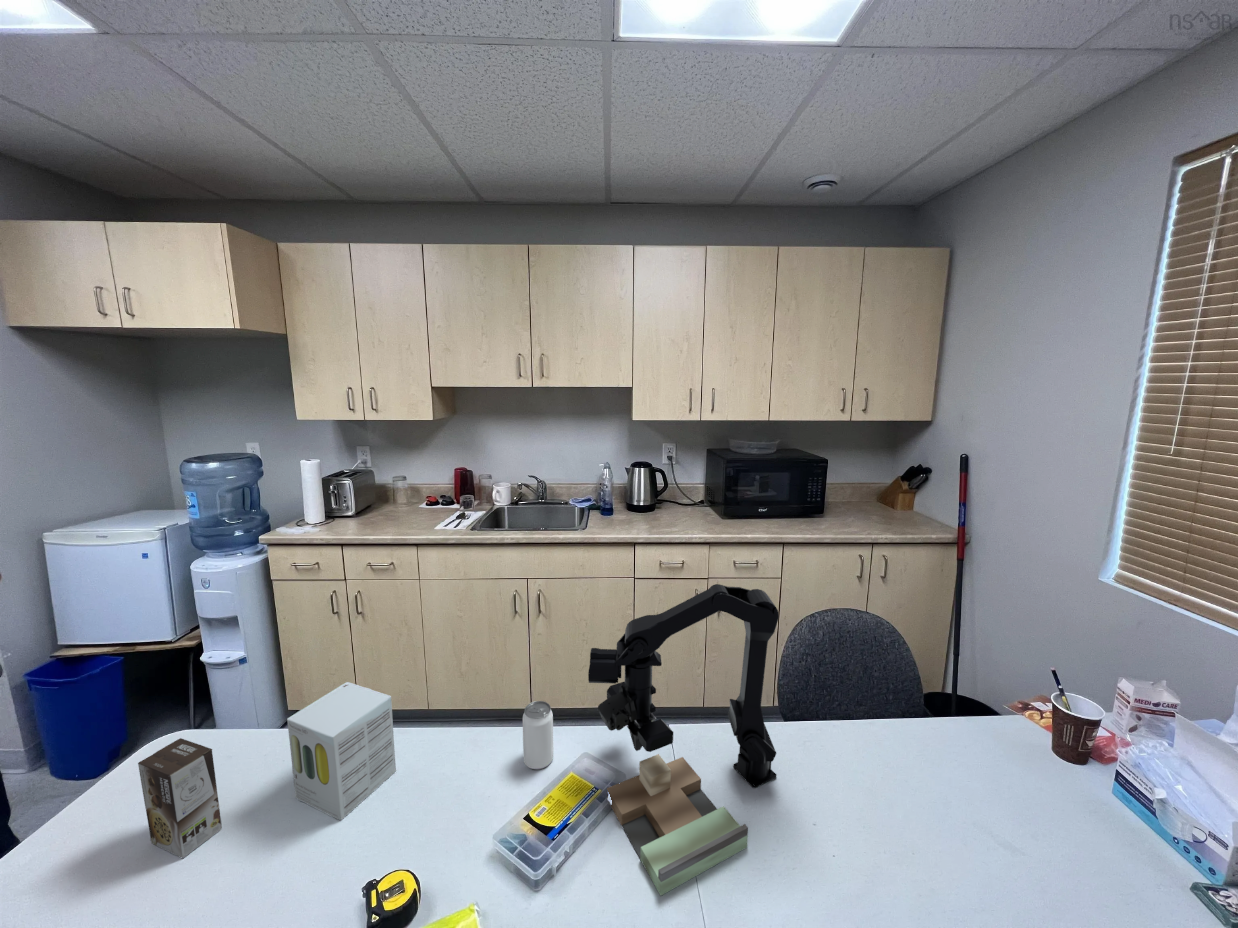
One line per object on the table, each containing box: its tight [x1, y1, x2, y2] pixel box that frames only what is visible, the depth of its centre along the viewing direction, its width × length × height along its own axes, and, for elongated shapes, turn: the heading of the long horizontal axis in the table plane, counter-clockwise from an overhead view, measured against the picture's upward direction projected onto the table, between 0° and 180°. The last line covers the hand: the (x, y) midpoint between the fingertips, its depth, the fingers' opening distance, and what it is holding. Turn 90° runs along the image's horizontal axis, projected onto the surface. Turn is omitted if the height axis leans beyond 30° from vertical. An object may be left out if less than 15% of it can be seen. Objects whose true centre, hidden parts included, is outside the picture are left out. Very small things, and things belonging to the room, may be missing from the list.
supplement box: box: [286, 681, 397, 821], centre depth 93 cm, size 13×13×18 cm
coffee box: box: [137, 737, 223, 859], centre depth 82 cm, size 9×6×16 cm
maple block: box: [638, 753, 671, 796], centre depth 92 cm, size 4×4×4 cm
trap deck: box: [606, 756, 749, 896], centre depth 86 cm, size 20×18×4 cm
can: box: [522, 700, 554, 770], centre depth 101 cm, size 6×6×12 cm
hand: (637, 749), depth 98 cm, fingers closed
